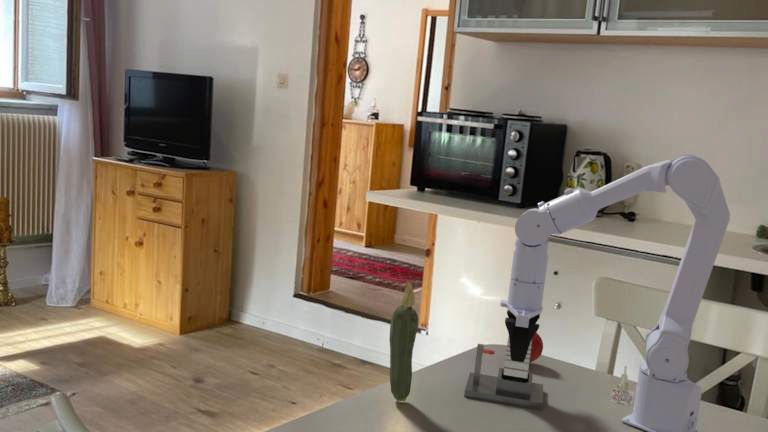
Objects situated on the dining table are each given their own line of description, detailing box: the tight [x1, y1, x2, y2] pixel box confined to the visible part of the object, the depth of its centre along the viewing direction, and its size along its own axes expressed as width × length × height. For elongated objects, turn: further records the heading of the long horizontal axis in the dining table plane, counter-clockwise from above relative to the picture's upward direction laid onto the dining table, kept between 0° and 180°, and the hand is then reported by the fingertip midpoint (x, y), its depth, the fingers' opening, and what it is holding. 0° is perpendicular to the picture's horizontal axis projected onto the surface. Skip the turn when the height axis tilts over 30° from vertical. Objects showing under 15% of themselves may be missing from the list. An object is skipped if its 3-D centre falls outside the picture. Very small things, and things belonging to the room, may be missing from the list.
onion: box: [529, 331, 544, 364], centre depth 144 cm, size 6×6×8 cm
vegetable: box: [388, 280, 419, 403], centre depth 118 cm, size 4×4×20 cm
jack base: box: [463, 343, 544, 411], centre depth 127 cm, size 13×9×8 cm
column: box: [503, 335, 532, 379], centre depth 127 cm, size 4×4×6 cm
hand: (517, 356), depth 127 cm, fingers closed on column, 4 cm apart
